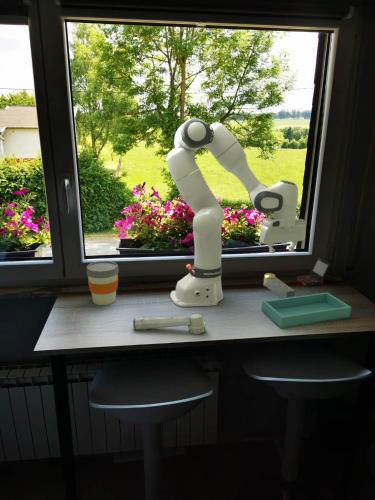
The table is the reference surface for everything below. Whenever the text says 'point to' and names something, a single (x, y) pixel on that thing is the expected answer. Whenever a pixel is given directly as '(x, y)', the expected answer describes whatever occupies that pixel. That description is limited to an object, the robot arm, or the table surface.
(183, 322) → the white flashlight
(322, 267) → the handheld gaming console
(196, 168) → the robot arm
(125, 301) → the table surface
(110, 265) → the reusable coffee cup
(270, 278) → the strut
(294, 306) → the bin
